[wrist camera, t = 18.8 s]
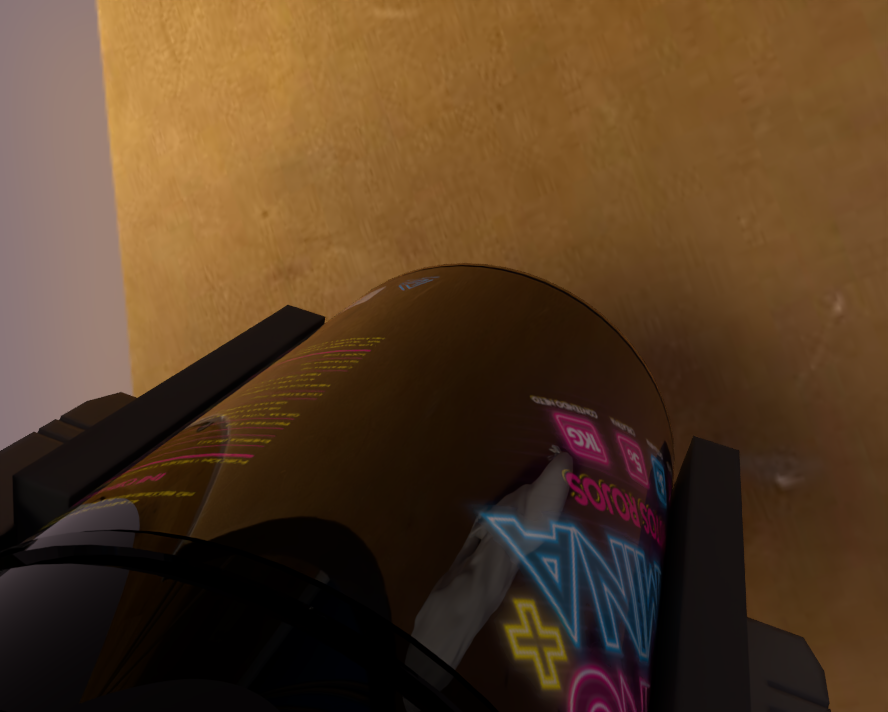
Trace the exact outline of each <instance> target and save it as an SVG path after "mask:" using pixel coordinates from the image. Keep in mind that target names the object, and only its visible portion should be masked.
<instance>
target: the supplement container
mask: <svg viewBox="0 0 888 712" xmlns="http://www.w3.org/2000/svg"><path fill="white" fill-rule="evenodd" d="M674 461H675V454H674V441H673V434H672V428H671V423H670V418H669V415H668V412H667V409H666V405H665V402H664V399H663V397H662V395H661V392H660V390H659V388H658V385H657V383H656V381H655V379H654V377H653V375H652V374H651V372H650V370H649V368H648V367H647V365H646V363H645V362H644V360H643V359H642V358H641V356H640V355H639V353H638V352H637V351H636V349H635V348H634V346H633V345H632V344H631V343H630V342H629V340H628V339H627V338H626V337H625V336H624V335H623V334H622V333H621V331H620V330H619V329H618V328H617V327H616V326H615V325H613V324H612V323H611V322H610V321H609V320H608V319H607V318H606V317H605V316H604V315H603V314H601V313H600V312H599V311H597V310H596V309H595V308H593V307H592V306H591V305H589V304H588V303H587V302H585V301H584V300H582V299H581V298H579V297H577V296H576V295H574V294H572V293H571V292H569V291H568V290H566V289H564V288H562V287H560V286H558V285H556V284H553V283H551V282H549V281H547V280H545V279H542V278H539V277H537V276H534V275H531V274H528V273H526V272H522V271H518V270H514V269H510V268H506V267H500V266H494V265H487V264H471V263H458V264H443V265H437V266H431V267H425V268H421V269H418V270H414V271H411V272H407V273H404V274H402V275H399V276H397V277H395V278H392V279H390V280H388V281H386V282H384V283H382V284H380V285H379V286H377V287H375V288H373V289H372V290H370V291H369V292H368V293H366V294H365V295H363V296H362V297H361V298H359V299H358V300H356V301H355V302H354V303H352V304H351V305H349V306H348V307H347V308H345V309H344V310H343V311H341V312H340V313H338V314H337V315H336V316H334V317H333V318H331V319H330V320H329V321H327V322H326V323H325V324H323V325H322V326H320V327H319V328H318V329H316V330H315V331H314V332H312V333H311V334H309V335H308V336H307V337H305V338H304V339H302V340H301V341H300V342H298V343H297V344H296V345H294V346H293V347H291V348H290V349H289V350H287V351H286V352H284V353H283V354H282V355H280V356H279V357H278V358H276V359H275V360H273V361H272V362H271V363H269V364H268V365H266V366H265V367H264V368H262V369H261V370H260V371H258V372H257V373H255V374H254V375H253V376H251V377H250V378H248V379H247V380H246V381H244V382H243V383H242V384H240V385H239V386H237V387H236V388H235V389H233V390H232V391H230V392H229V393H228V394H226V395H225V396H224V397H222V398H221V399H219V400H218V401H217V402H215V403H214V404H212V405H211V406H210V407H208V408H207V409H206V410H204V411H203V412H201V413H200V414H199V415H197V416H196V417H195V418H193V419H192V420H190V421H189V422H188V423H186V424H185V425H183V426H182V427H181V428H179V429H178V430H177V431H175V432H174V433H172V434H171V435H170V436H168V437H167V438H165V439H164V440H163V441H161V442H160V443H159V444H157V445H156V446H154V447H153V448H152V449H150V450H149V451H147V452H146V453H145V454H143V455H142V456H141V457H139V458H138V459H136V460H135V461H134V462H132V463H131V464H129V465H128V466H127V467H125V468H124V469H123V470H121V471H120V472H118V473H117V474H116V475H114V476H113V477H111V478H110V479H109V480H107V481H106V482H105V483H103V484H102V485H100V486H99V487H98V488H96V489H95V490H93V491H92V492H91V493H89V494H88V495H87V496H85V497H84V498H82V499H81V500H80V501H78V502H77V503H76V504H74V505H73V506H71V507H70V508H69V509H67V510H66V511H64V512H63V513H62V514H60V515H59V516H58V517H56V518H55V519H53V520H52V521H51V522H49V523H48V524H46V525H45V526H44V527H42V528H41V529H40V530H38V531H37V532H35V533H34V534H33V535H31V536H30V537H28V538H27V539H26V540H24V541H23V542H22V543H20V544H19V545H16V546H12V547H9V548H7V549H5V550H3V551H1V552H0V712H649V708H650V698H651V689H652V679H653V669H654V660H655V650H656V641H657V631H658V622H659V612H660V603H661V593H662V584H663V574H664V564H665V555H666V545H667V536H668V526H669V517H670V507H671V498H672V488H673V479H674Z"/></svg>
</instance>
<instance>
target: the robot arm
mask: <svg viewBox="0 0 888 712" xmlns="http://www.w3.org/2000/svg"><path fill="white" fill-rule="evenodd" d="M324 322H325V317H324V316H321V315H318V314H315V313H312V312H309V311H306V310H302V309H299V308H296V307H293V306H290V305H287V306H286V307H284V308H282V309H281V310H279V311H277V312H276V313H274V314H273V315H271V316H269V317H268V318H266V319H265V320H263V321H261V322H260V323H258V324H256V325H255V326H253V327H252V328H250V329H248V330H247V331H245V332H243V333H242V334H240V335H239V336H237V337H235V338H234V339H232V340H231V341H229V342H227V343H226V344H224V345H222V346H221V347H219V348H218V349H216V350H214V351H213V352H211V353H209V354H208V355H206V356H205V357H203V358H201V359H200V360H198V361H197V362H195V363H193V364H192V365H190V366H188V367H187V368H185V369H184V370H182V371H180V372H179V373H177V374H175V375H174V376H172V377H171V378H169V379H167V380H166V381H164V382H163V383H161V384H159V385H158V386H156V387H154V388H153V389H151V390H150V391H148V392H146V393H145V394H143V395H141V396H140V397H138V398H136V397H133V396H130V395H127V394H125V393H122V392H120V393H116V394H112V395H108V396H105V397H101V398H98V399H94V400H90V401H86V402H85V403H83V404H81V405H80V406H78V407H77V408H74V409H73V410H71V411H69V412H68V413H66V414H64V415H62V416H61V418H60V420H56V419H55V420H53V421H52V422H50V423H48V424H47V425H45V426H43V427H41V428H39V431H38V433H36V432H33V433H31V434H29V435H27V436H25V437H24V438H22V439H20V440H18V441H17V442H15V443H13V444H12V445H10V446H8V447H6V448H5V449H3V450H1V451H0V552H1V551H3V550H5V549H7V548H9V547H12V546H16V545H19V544H20V543H22V542H23V541H24V540H26V539H27V538H28V537H30V536H31V535H33V534H34V533H35V532H37V531H38V530H40V529H41V528H42V527H44V526H45V525H46V524H48V523H49V522H51V521H52V520H53V519H55V518H56V517H58V516H59V515H60V514H62V513H63V512H64V511H66V510H67V509H69V508H70V507H71V506H73V505H74V504H76V503H77V502H78V501H80V500H81V499H82V498H84V497H85V496H87V495H88V494H89V493H91V492H92V491H93V490H95V489H96V488H98V487H99V486H100V485H102V484H103V483H105V482H106V481H107V480H109V479H110V478H111V477H113V476H114V475H116V474H117V473H118V472H120V471H121V470H123V469H124V468H125V467H127V466H128V465H129V464H131V463H132V462H134V461H135V460H136V459H138V458H139V457H141V456H142V455H143V454H145V453H146V452H147V451H149V450H150V449H152V448H153V447H154V446H156V445H157V444H159V443H160V442H161V441H163V440H164V439H165V438H167V437H168V436H170V435H171V434H172V433H174V432H175V431H177V430H178V429H179V428H181V427H182V426H183V425H185V424H186V423H188V422H189V421H190V420H192V419H193V418H195V417H196V416H197V415H199V414H200V413H201V412H203V411H204V410H206V409H207V408H208V407H210V406H211V405H212V404H214V403H215V402H217V401H218V400H219V399H221V398H222V397H224V396H225V395H226V394H228V393H229V392H230V391H232V390H233V389H235V388H236V387H237V386H239V385H240V384H242V383H243V382H244V381H246V380H247V379H248V378H250V377H251V376H253V375H254V374H255V373H257V372H258V371H260V370H261V369H262V368H264V367H265V366H266V365H268V364H269V363H271V362H272V361H273V360H275V359H276V358H278V357H279V356H280V355H282V354H283V353H284V352H286V351H287V350H289V349H290V348H291V347H293V346H294V345H296V344H297V343H298V342H300V341H301V340H302V339H304V338H305V337H307V336H308V335H309V334H311V333H312V332H314V331H315V330H316V329H318V328H319V327H320V326H322V325H323V324H324ZM828 706H829V697H828V691H827V685H826V679H825V673H824V670H823V668H822V667H821V665H820V663H819V662H818V660H817V659H816V657H815V655H814V654H813V652H812V651H811V649H810V647H809V646H808V644H807V642H806V641H805V639H804V638H803V637H801V636H798V635H795V634H792V633H790V632H787V631H784V630H781V629H779V628H776V627H773V626H770V625H768V624H765V623H762V622H759V621H757V620H754V619H751V618H748V617H747V609H746V588H745V566H744V544H743V522H742V501H741V479H740V457H739V450H736V449H733V448H730V447H727V446H724V445H720V444H717V443H714V442H711V441H708V440H705V439H702V438H699V437H696V436H693V438H692V440H691V443H690V446H689V448H688V451H687V453H686V456H685V459H684V461H683V464H682V466H681V469H680V472H679V474H678V477H677V479H676V482H675V485H674V487H673V490H672V498H671V507H670V517H669V526H668V536H667V545H666V555H665V564H664V574H663V584H662V593H661V603H660V612H659V622H658V631H657V641H656V650H655V660H654V669H653V679H652V689H651V698H650V708H649V712H831V710H830V709H828Z"/></svg>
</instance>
